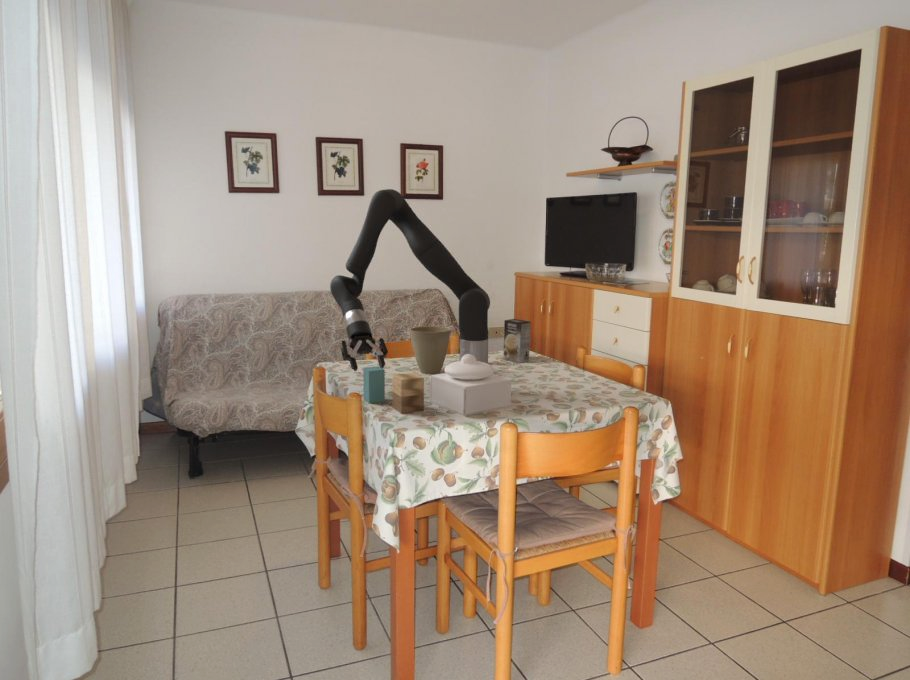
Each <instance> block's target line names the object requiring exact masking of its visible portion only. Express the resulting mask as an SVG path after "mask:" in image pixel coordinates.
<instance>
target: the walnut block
mask: <svg viewBox="0 0 910 680" xmlns="http://www.w3.org/2000/svg"><path fill="white" fill-rule="evenodd" d="M391 392H392V395H391V396H392V409H394V410H395V411H397V412H399V413H400V414H409V412H410V413H418V412H424V411H425V393H424V394H423V395H414V396H405V397H401V396H399V395H398V394H396V393H394V392H393V391H391ZM417 411H418V412H417Z"/></svg>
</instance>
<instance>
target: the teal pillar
mask: <svg viewBox="0 0 910 680" xmlns="http://www.w3.org/2000/svg"><path fill="white" fill-rule="evenodd" d="M362 372H363V400H364V401H365V402H367V404H369V403H370V404H379V403H385V402H386V391H385V390H386V386H385V385H386V384H385V383H386V382H385V380H386V379H385V375H386V374H385V372H386V371H385V369H384V368H383V369H382V368H381V367H380V366H370V367H369V366H367V367H363V371H362Z"/></svg>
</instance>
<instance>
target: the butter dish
mask: <svg viewBox="0 0 910 680" xmlns="http://www.w3.org/2000/svg"><path fill="white" fill-rule="evenodd" d="M443 371H444V372H443V373H436V374H430V377H429V403H430V404H433V405H435V406H437V405H438V407H440V408H442V407H443V408H442V409H445V410H448V411H450V410H451V411H450V412H453V413H455V412H456V413H455V414H458V415H461V416H463V417H467V416H471V415H476V414H481V413H486V412H491V411H496V410H503V409H506V408H511V405H512V382H513V378H510V377H506V376H503V375H500V374H496V373H495V369H494V367H493V366H492V365H491V364H490V363H489V364H487V363H484V362H480V361H476V358H475V357H474V356H473V355H471V354H465V355H464V356H463V357H462V358H461V361H460V360H458V361H455V362H454V361H453V362H451V363H449V364H446V366H445V367H444V370H443Z"/></svg>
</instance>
